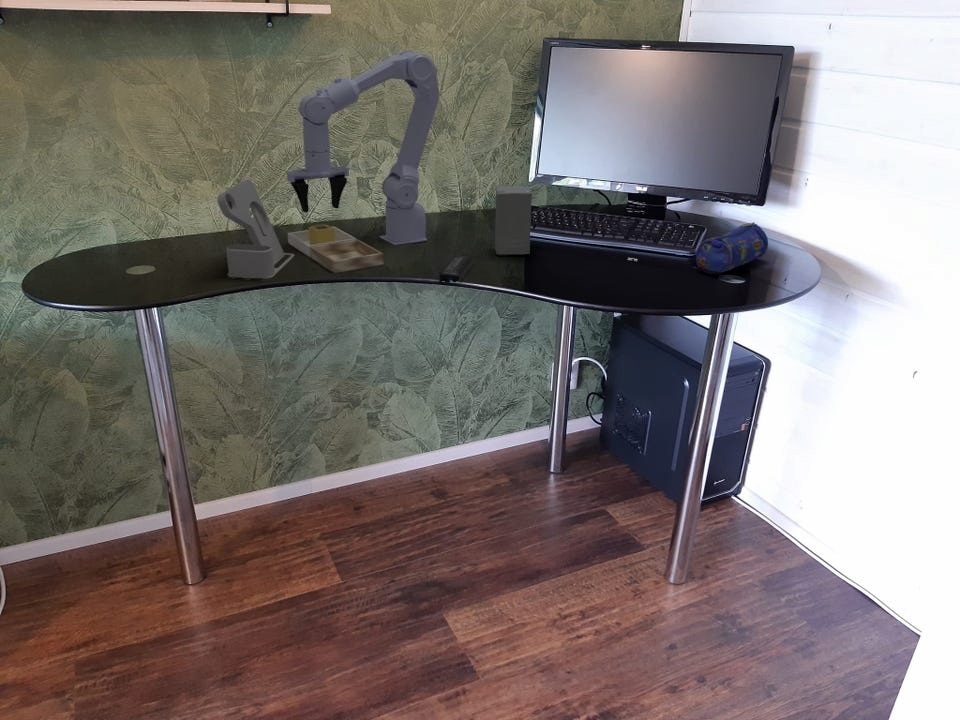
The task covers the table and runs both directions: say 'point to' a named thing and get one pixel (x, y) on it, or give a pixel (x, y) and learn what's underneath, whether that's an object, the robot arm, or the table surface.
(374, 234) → the table surface
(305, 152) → the robot arm
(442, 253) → the table surface
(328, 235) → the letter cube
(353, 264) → the birch box
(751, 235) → the pencil case
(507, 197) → the skincare box
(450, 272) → the multiport hub
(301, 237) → the white tub
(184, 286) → the table surface
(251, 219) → the phone holder
